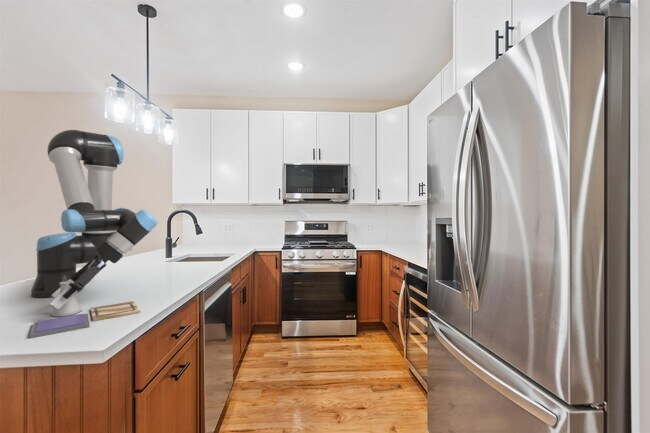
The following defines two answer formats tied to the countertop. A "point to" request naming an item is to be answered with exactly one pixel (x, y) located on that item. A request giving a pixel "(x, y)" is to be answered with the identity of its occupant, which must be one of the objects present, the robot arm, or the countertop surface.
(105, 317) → the marked board
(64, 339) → the countertop surface
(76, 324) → the ink pad
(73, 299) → the flask
